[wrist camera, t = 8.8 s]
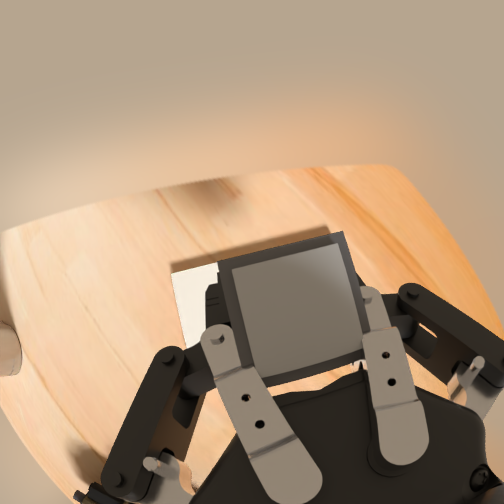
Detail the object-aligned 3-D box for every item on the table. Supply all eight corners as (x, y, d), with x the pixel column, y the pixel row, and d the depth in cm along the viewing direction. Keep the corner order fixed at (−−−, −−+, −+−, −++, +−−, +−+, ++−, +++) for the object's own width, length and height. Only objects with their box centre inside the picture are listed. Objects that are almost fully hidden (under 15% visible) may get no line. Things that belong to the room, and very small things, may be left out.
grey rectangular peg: (255, 352, 16) (247, 394, 7) (241, 291, 17) (215, 259, 8) (316, 336, 16) (379, 355, 7) (301, 276, 17) (345, 227, 8)
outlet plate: (201, 387, 29) (197, 391, 27) (174, 275, 32) (169, 273, 30) (362, 345, 29) (368, 346, 28) (332, 236, 33) (336, 231, 31)
